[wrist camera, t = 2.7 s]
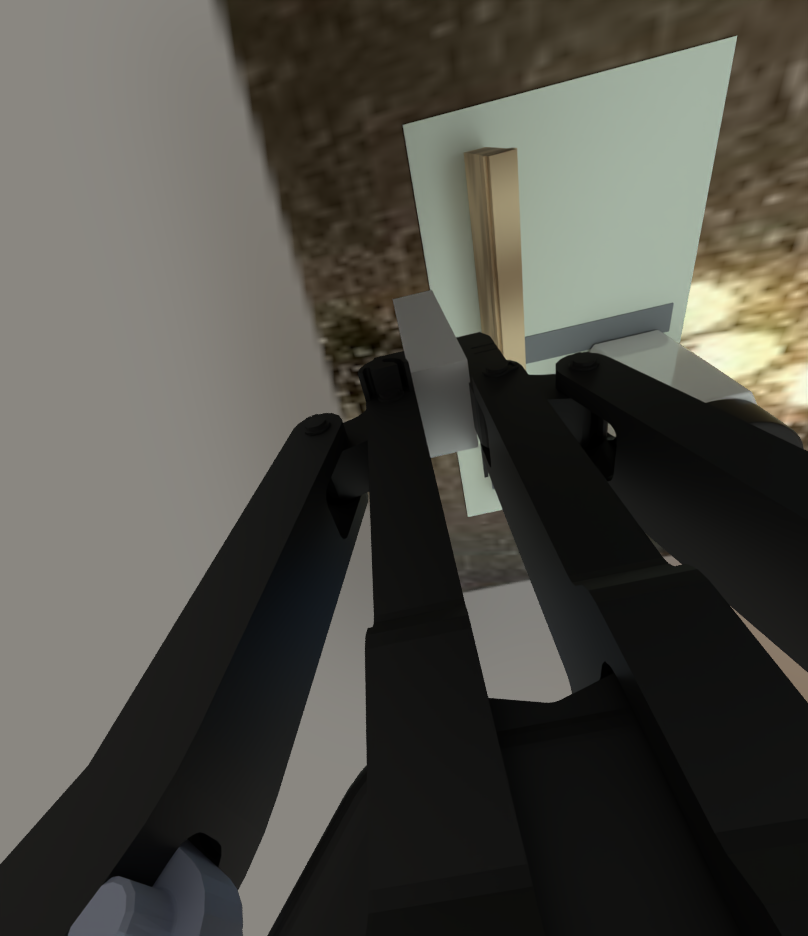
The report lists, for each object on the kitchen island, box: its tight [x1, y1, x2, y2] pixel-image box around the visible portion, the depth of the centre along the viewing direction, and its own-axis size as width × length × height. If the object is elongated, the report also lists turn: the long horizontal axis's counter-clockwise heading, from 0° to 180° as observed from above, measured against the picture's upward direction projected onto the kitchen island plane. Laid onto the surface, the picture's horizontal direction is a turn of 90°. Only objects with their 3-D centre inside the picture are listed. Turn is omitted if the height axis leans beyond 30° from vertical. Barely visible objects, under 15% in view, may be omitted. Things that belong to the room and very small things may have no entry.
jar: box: [590, 330, 803, 449], centre depth 28 cm, size 9×8×12 cm
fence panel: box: [464, 147, 526, 370], centre depth 24 cm, size 11×2×6 cm, turn 12°
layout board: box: [403, 36, 737, 517], centre depth 31 cm, size 29×17×1 cm, turn 12°
